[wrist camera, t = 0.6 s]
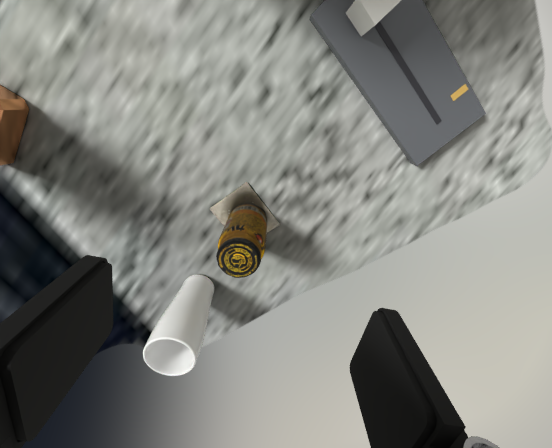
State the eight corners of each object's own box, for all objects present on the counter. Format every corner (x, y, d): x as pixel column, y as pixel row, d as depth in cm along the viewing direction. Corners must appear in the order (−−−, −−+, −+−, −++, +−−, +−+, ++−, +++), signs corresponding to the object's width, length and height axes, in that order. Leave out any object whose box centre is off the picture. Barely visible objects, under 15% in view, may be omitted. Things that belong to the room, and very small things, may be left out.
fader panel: (309, 19, 33) (311, 13, 31) (379, -55, 31) (386, -65, 29) (410, 163, 40) (417, 166, 38) (475, 113, 37) (486, 113, 35)
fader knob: (345, 13, 31) (357, -3, 26) (378, -21, 30) (397, -44, 25) (361, 36, 32) (375, 25, 27) (393, 5, 31) (414, -13, 26)
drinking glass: (195, 262, 46) (162, 328, 33) (227, 285, 48) (207, 357, 34) (172, 286, 48) (131, 358, 35) (203, 307, 50) (176, 384, 36)
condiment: (243, 247, 45) (233, 293, 34) (209, 208, 43) (186, 244, 32) (280, 223, 44) (281, 264, 33) (246, 181, 41) (236, 209, 30)
